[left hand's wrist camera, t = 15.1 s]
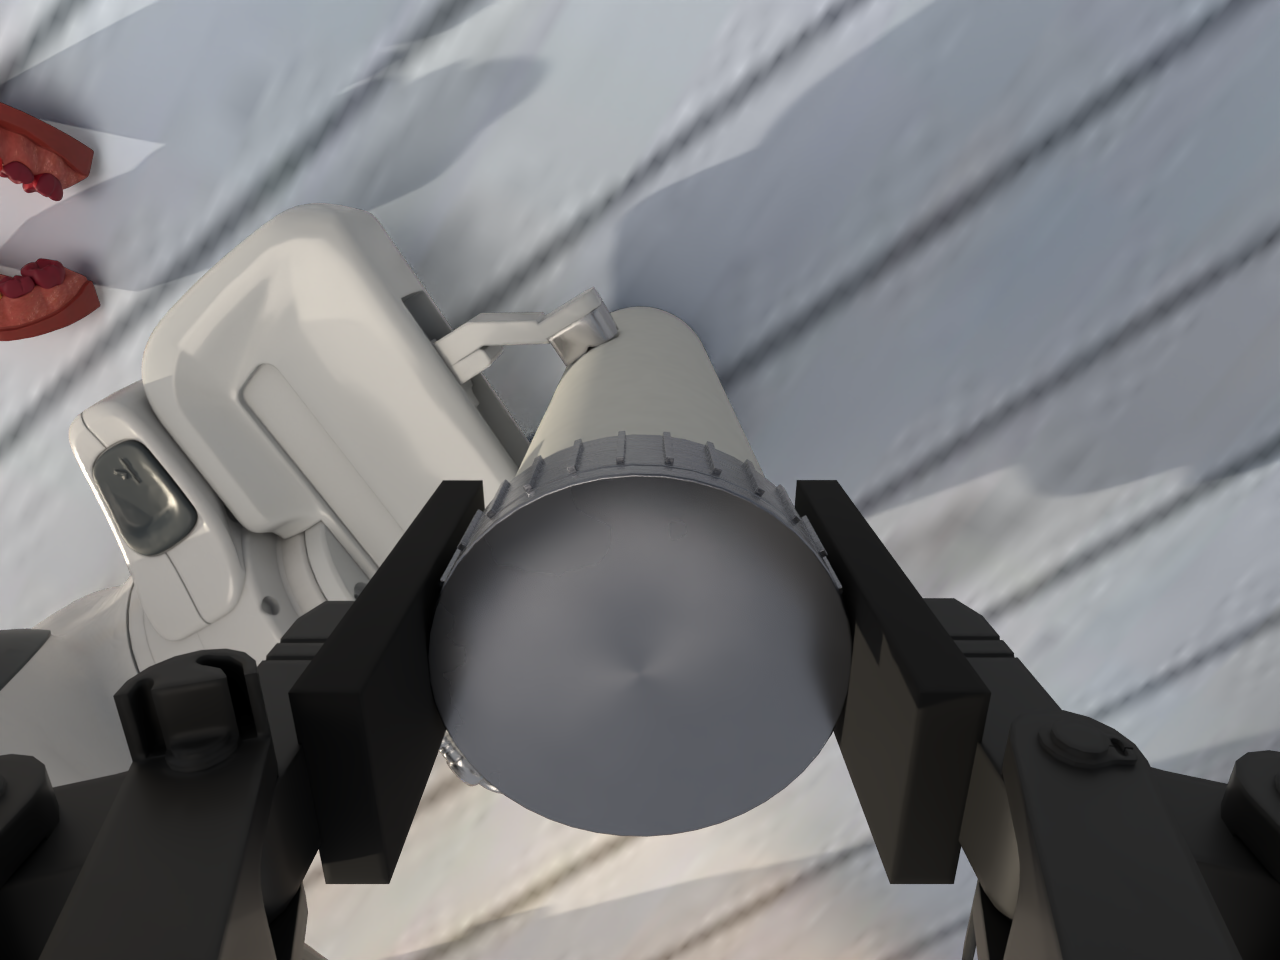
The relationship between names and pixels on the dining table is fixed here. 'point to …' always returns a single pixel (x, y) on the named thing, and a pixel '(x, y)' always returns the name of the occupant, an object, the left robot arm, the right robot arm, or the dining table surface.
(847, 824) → the dining table surface
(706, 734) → the lid
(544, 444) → the bottle
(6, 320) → the dental model
